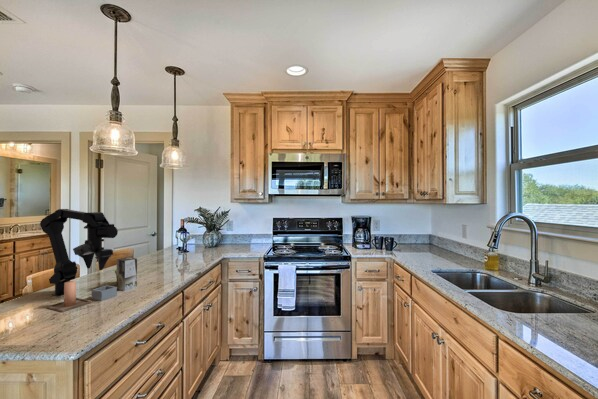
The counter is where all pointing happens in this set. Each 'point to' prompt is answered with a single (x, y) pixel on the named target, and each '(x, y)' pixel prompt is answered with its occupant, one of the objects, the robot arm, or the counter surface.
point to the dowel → (69, 293)
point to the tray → (62, 308)
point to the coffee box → (126, 273)
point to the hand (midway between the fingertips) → (94, 269)
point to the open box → (104, 293)
